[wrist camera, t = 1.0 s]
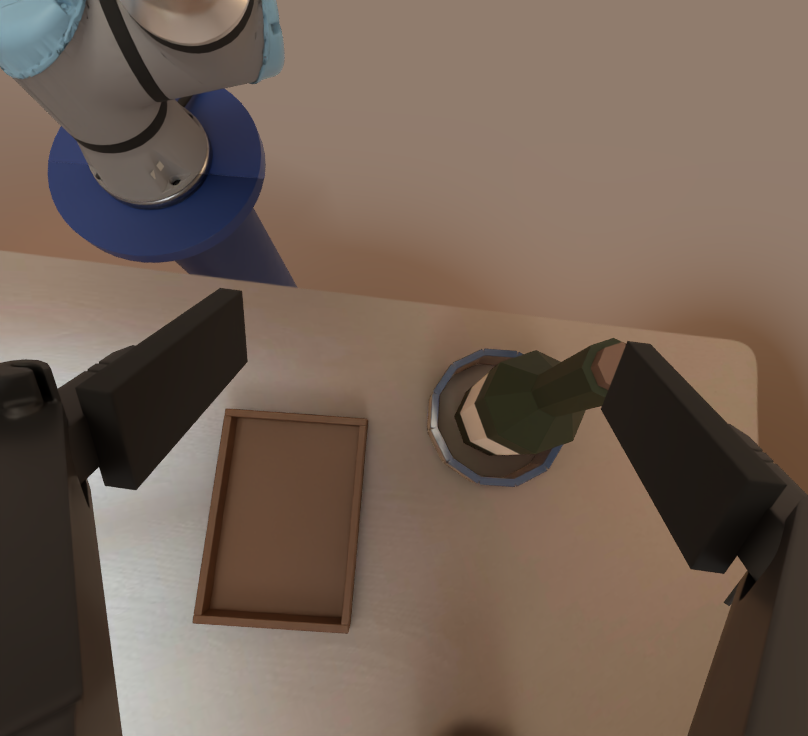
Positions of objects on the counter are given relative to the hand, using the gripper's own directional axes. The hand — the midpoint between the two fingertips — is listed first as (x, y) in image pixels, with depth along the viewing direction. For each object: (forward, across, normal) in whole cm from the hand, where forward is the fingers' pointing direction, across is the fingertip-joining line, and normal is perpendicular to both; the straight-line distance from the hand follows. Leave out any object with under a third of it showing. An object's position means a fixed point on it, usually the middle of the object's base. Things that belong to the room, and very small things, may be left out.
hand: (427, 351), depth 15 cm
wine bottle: (+29, +9, -22) cm, 38 cm away
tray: (+20, -12, -32) cm, 40 cm away
